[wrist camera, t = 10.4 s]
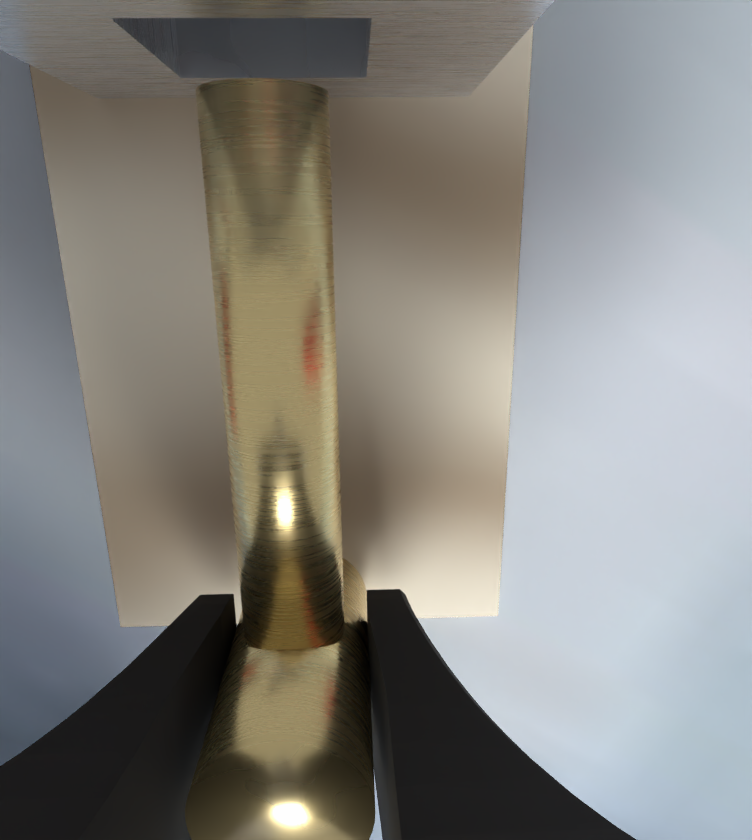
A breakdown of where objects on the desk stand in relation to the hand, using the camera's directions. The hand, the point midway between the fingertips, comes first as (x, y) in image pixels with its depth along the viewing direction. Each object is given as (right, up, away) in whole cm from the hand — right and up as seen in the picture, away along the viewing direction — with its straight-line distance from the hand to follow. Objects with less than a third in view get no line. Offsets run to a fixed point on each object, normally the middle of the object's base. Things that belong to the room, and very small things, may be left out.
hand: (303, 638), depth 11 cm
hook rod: (0, +4, 0) cm, 4 cm away
